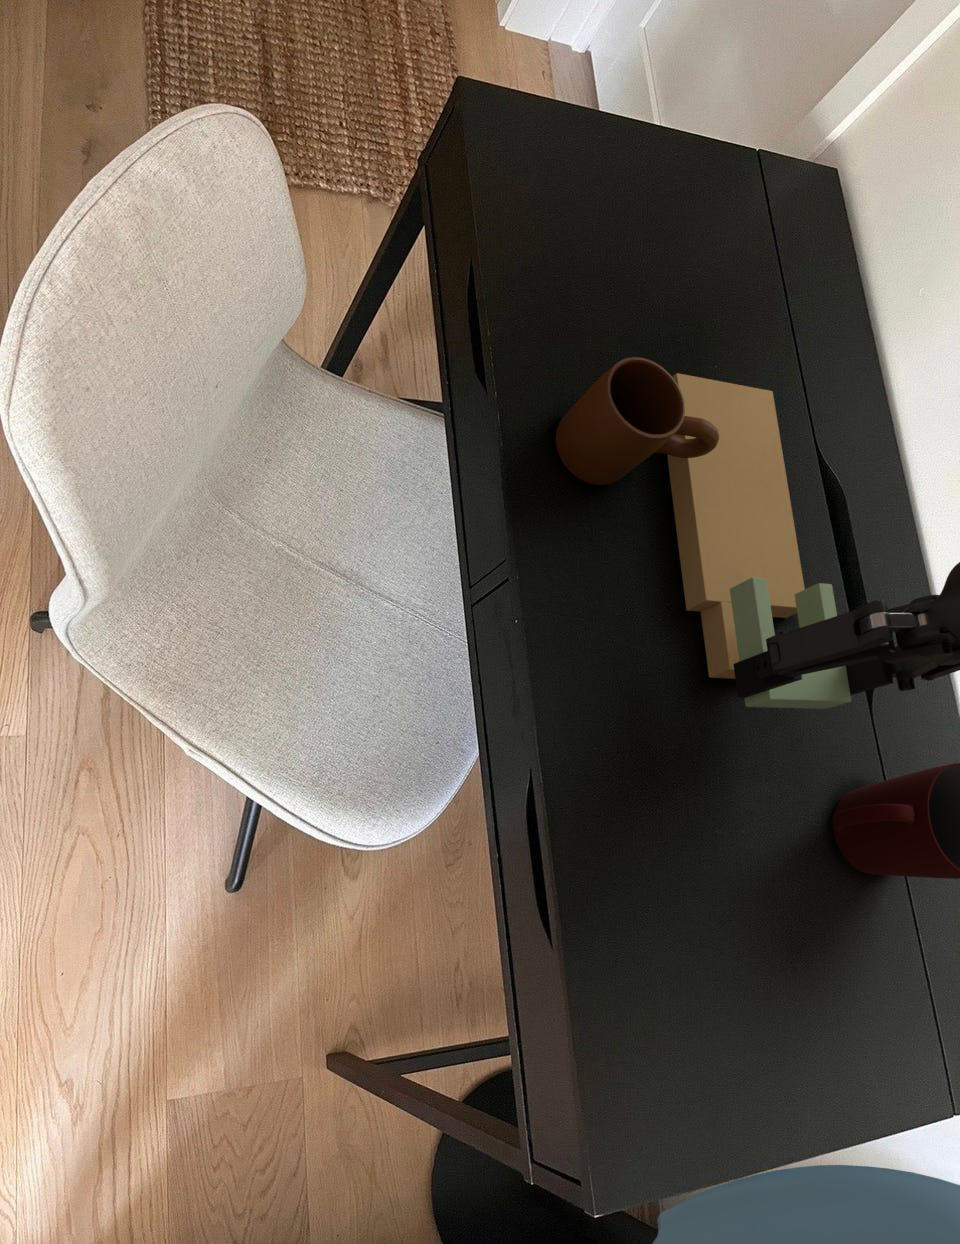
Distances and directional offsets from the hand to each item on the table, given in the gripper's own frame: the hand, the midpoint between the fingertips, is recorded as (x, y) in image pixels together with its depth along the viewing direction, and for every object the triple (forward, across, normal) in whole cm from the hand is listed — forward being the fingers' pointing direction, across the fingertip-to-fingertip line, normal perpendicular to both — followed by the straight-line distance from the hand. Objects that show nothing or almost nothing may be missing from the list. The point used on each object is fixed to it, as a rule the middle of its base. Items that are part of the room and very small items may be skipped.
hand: (784, 682), depth 74 cm
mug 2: (+7, -11, +11) cm, 17 cm away
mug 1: (+7, +10, -22) cm, 25 cm away
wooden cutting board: (+7, -2, -16) cm, 17 cm away
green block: (0, 0, -3) cm, 3 cm away
